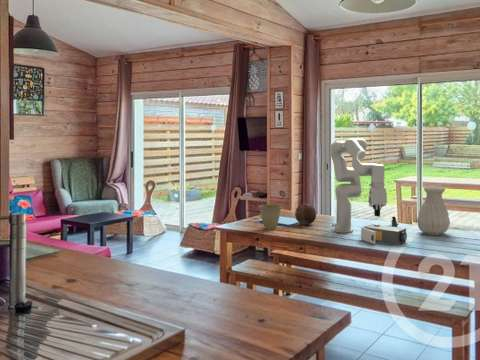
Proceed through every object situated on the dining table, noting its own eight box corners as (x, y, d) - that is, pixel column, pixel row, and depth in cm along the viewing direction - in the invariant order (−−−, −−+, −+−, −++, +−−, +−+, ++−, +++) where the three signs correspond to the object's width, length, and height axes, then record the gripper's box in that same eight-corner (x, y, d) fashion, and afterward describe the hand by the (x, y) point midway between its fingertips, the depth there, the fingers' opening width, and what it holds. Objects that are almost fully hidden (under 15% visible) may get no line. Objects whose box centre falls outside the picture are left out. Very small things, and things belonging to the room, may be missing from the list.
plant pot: (264, 226, 343) (264, 203, 342) (284, 228, 336) (284, 205, 335) (255, 230, 330) (255, 206, 329) (275, 232, 323) (275, 208, 322)
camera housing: (362, 239, 300) (363, 225, 299) (372, 236, 309) (372, 222, 308) (400, 245, 284) (400, 230, 283) (409, 242, 292) (409, 227, 291)
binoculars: (381, 217, 323) (397, 216, 321) (382, 232, 324) (398, 231, 322) (382, 219, 314) (398, 218, 312) (383, 235, 315) (400, 234, 313)
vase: (432, 237, 304) (433, 190, 301) (409, 231, 322) (411, 186, 319) (456, 235, 311) (458, 188, 308) (433, 229, 330) (435, 185, 327)
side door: (359, 239, 300) (359, 227, 299) (362, 238, 300) (362, 227, 300) (372, 244, 286) (372, 231, 285) (375, 244, 286) (375, 231, 286)
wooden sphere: (317, 223, 353) (317, 202, 352) (314, 227, 339) (314, 205, 337) (296, 222, 357) (296, 202, 356) (293, 226, 343) (293, 205, 341)
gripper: (369, 186, 281) (369, 217, 283) (392, 185, 286) (391, 216, 287) (363, 185, 289) (362, 215, 290) (384, 184, 293) (384, 214, 295)
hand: (377, 216), depth 289 cm, fingers closed
